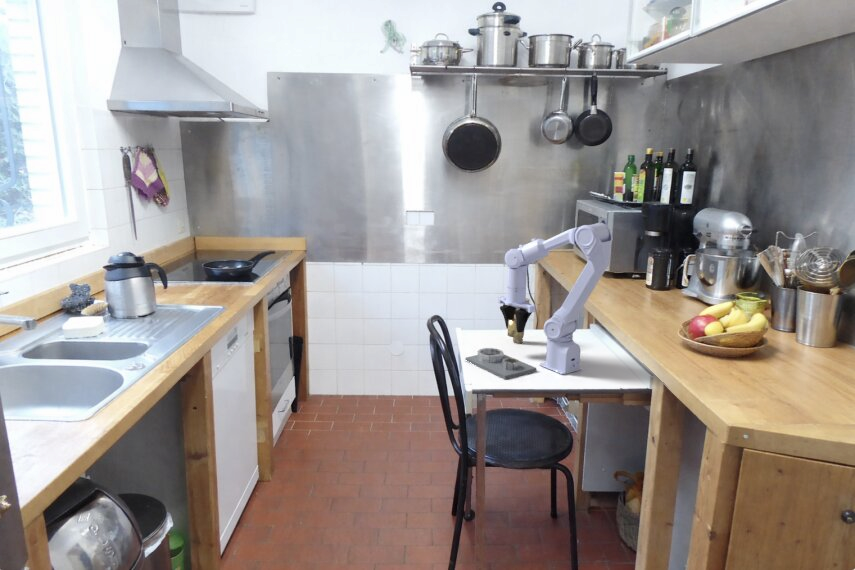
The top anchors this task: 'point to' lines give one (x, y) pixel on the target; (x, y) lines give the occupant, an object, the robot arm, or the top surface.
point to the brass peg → (513, 328)
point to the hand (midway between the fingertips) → (514, 330)
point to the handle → (519, 339)
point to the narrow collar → (510, 363)
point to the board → (497, 367)
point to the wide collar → (490, 355)
